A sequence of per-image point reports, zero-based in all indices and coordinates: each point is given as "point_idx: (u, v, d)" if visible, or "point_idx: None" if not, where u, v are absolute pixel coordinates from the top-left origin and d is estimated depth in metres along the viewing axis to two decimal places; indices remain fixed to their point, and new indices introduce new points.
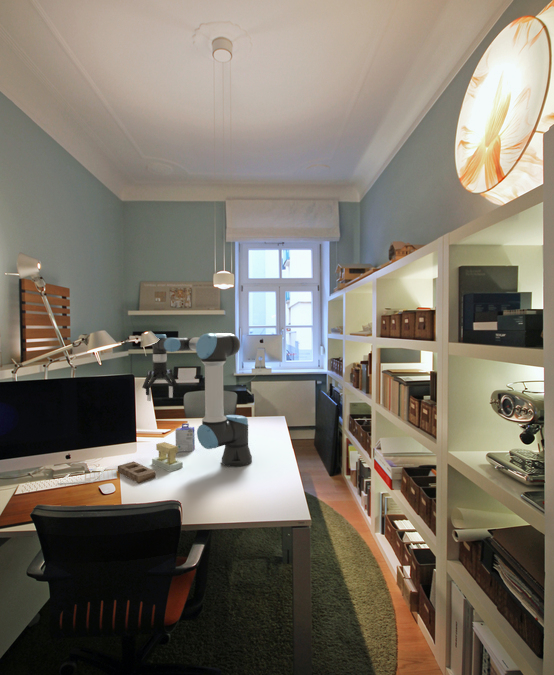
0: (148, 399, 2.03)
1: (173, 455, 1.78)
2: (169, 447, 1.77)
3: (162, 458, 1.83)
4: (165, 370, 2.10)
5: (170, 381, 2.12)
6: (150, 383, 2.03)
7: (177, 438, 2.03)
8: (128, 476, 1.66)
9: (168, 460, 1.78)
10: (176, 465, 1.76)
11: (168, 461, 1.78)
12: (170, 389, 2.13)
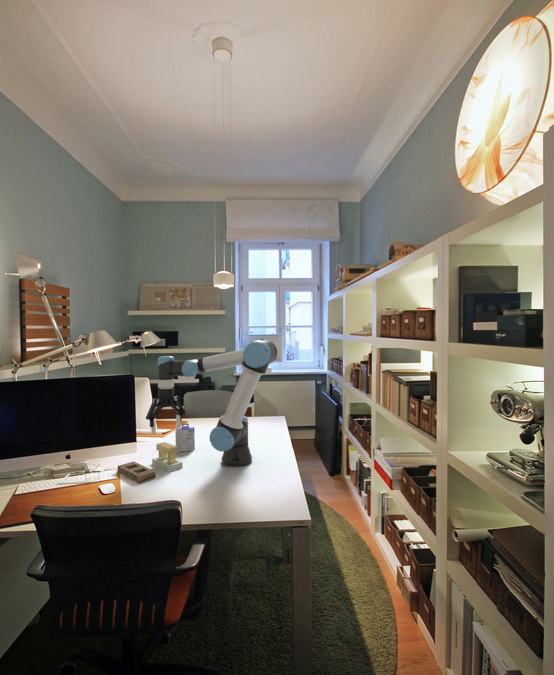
0: (152, 432, 1.76)
1: (173, 455, 1.78)
2: (169, 447, 1.77)
3: (162, 458, 1.83)
4: (172, 397, 1.83)
5: (177, 410, 1.85)
6: (155, 413, 1.76)
7: (177, 438, 2.03)
8: (128, 476, 1.66)
9: (168, 460, 1.78)
10: (176, 465, 1.76)
11: (168, 461, 1.78)
12: (177, 419, 1.86)
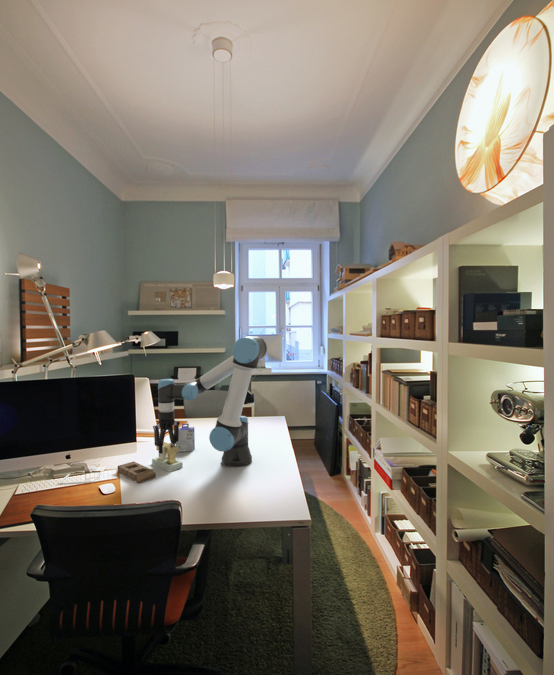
0: (161, 458, 1.79)
1: (173, 455, 1.78)
2: (169, 447, 1.77)
3: None
4: (173, 420, 1.83)
5: (173, 436, 1.83)
6: (161, 439, 1.78)
7: None
8: (128, 476, 1.66)
9: (168, 460, 1.78)
10: (176, 465, 1.76)
11: (168, 461, 1.78)
12: None
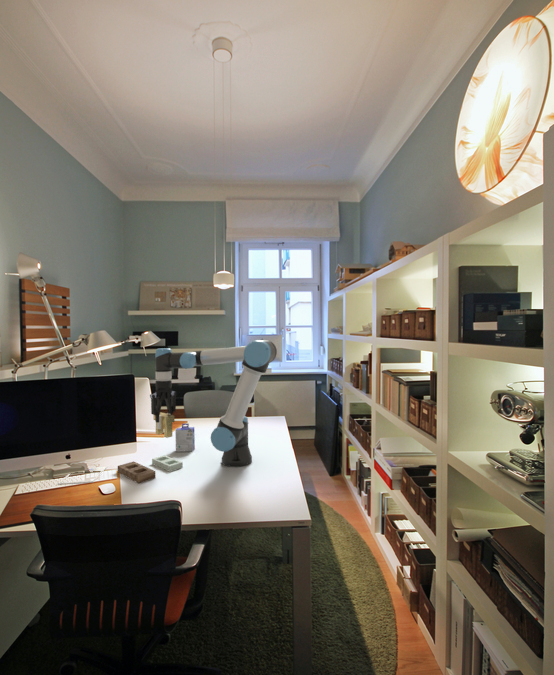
0: (158, 427, 1.78)
1: (170, 424, 1.77)
2: (166, 416, 1.76)
3: None
4: (170, 390, 1.82)
5: (170, 406, 1.82)
6: (158, 408, 1.77)
7: (177, 438, 2.03)
8: (128, 476, 1.66)
9: (165, 429, 1.77)
10: (176, 465, 1.76)
11: (165, 430, 1.77)
12: None
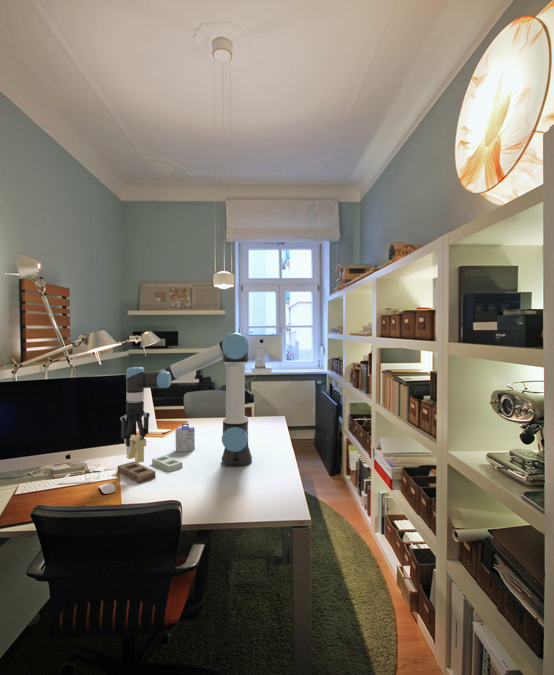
0: (129, 451, 1.67)
1: (141, 448, 1.66)
2: (137, 440, 1.65)
3: None
4: (142, 411, 1.71)
5: (142, 429, 1.71)
6: (128, 432, 1.66)
7: (177, 438, 2.03)
8: (128, 476, 1.66)
9: (135, 454, 1.66)
10: (176, 465, 1.76)
11: (135, 455, 1.66)
12: None
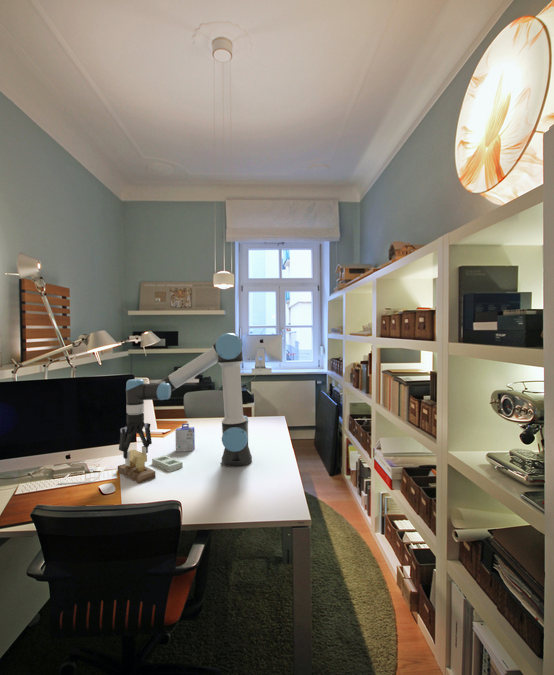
0: (126, 463, 1.66)
1: (142, 464, 1.66)
2: (137, 456, 1.65)
3: (131, 467, 1.71)
4: (142, 423, 1.71)
5: (145, 439, 1.72)
6: (127, 443, 1.65)
7: (177, 438, 2.03)
8: (128, 476, 1.66)
9: (136, 469, 1.66)
10: (176, 465, 1.76)
11: (136, 470, 1.66)
12: (143, 450, 1.72)
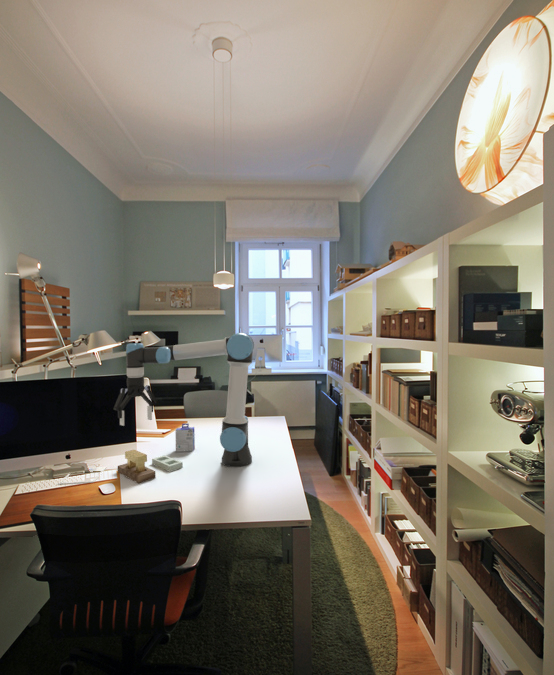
0: (121, 423, 1.66)
1: (142, 464, 1.66)
2: (137, 456, 1.65)
3: (131, 467, 1.71)
4: (142, 387, 1.73)
5: (148, 400, 1.75)
6: (123, 403, 1.66)
7: (177, 438, 2.03)
8: (128, 476, 1.66)
9: (136, 469, 1.66)
10: (176, 465, 1.76)
11: (136, 470, 1.66)
12: (149, 409, 1.76)
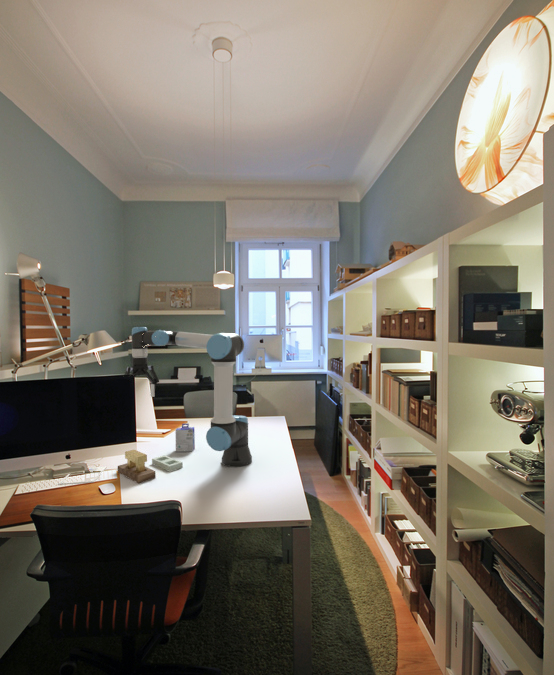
0: None
1: (142, 464, 1.66)
2: (137, 456, 1.65)
3: (131, 467, 1.71)
4: (146, 366, 1.92)
5: (151, 378, 1.94)
6: None
7: (177, 438, 2.03)
8: (128, 476, 1.66)
9: (136, 469, 1.66)
10: (176, 465, 1.76)
11: (136, 470, 1.66)
12: (152, 387, 1.95)
